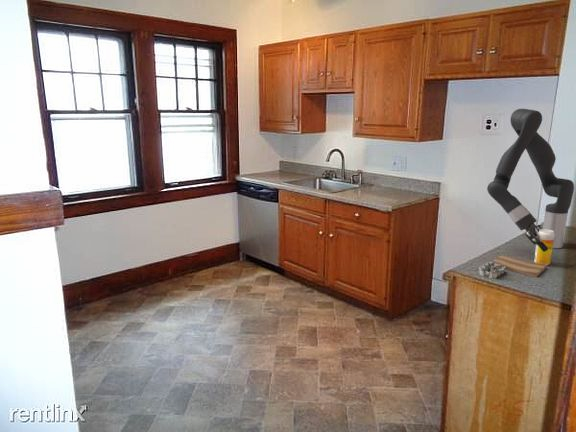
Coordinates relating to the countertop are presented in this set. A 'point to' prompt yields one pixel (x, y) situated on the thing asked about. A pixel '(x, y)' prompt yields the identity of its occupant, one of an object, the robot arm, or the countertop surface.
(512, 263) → the walnut board
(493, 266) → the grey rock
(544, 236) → the beer glass
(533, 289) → the countertop surface
